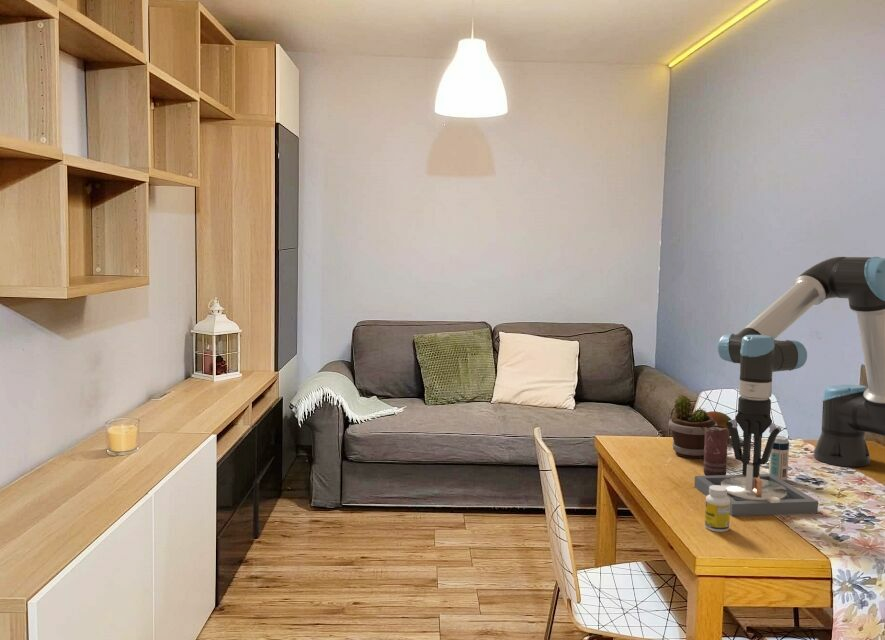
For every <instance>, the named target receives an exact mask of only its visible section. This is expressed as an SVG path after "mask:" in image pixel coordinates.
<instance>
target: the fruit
mask: <svg viewBox="0 0 885 640" xmlns="http://www.w3.org/2000/svg"><path fill="white" fill-rule="evenodd" d="M705 412H706V413H707V415H709V416H711V417H713V419H714V421H715V422H716V423H717V425H718V426H721V427H725V428H727V429H728V427H727V425H726V423H727V422H728V421H730V420H733V419H732V418H731V417H730V416H728V415H727V414H726V413H724V412H721V411H716V410H715V411H711V410H710V411H705ZM728 430H729V429H728ZM729 438H731V434H730V431H729Z"/></svg>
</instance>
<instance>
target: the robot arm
mask: <svg viewBox="0 0 885 640" xmlns="http://www.w3.org/2000/svg"><path fill="white" fill-rule="evenodd" d="M792 284H793V285H792V286H791V287H790V288H789V289H788V290H787V291H785V292H784V293H783V295H781V296H779V298H778V299H776V300H775V301H774V302H773V303H771V304H770V305H769V306H768V307H767V308H766V309H764V310H763V311H762V312H761V313H760V314H759V315H758V316H757V317H755V318H754V319H753V320H752V321H751V322H749V323H748V324H747V325H746V326H745V327H744V328H743V329H741V330H740V331H739V332H738V333H736V334H735V333H727V334H726V333H725V334H724V335H722V336H721V337H720V338H719V339H718V340H719V341H718V343H717V353H718V356H719V357H720V359H722V360H723V361H726V362H730V363H733V364H739V369H740V370H739V382H738V395H740V396H739V397H738V401H737V414H736V415H735V417H734V418H733V419H732V420H730V421H728V422H727V423H726V425H727V427H728V429H729V431H730V434H731V436H730V438H731V444H732V448H733V454H734V459H735V460H736V461H739V462H741V463H742V471H741V473H742V474H741V475H744V476H746V490H749V491H752V490H753V489H754V488H755V478H757V477H758V476H759V474H760V471H761V469H760V467H761V465H766V464H767V463H768V462H769V460H770V454H771V451H772V448H773V445H774V442H775V439H776V436H779V434H780V432H781V431H782V427H780V426H776V425H775V424H774V423H773V420H772V418H771V407H772V400H771V399H770V398H771V397H772V391H773V390H772V388H773V372H776V373H777V372H784V371H786V372H787V371H789V372H790V371H794V370H797V369H801V367H803V366H805V364H806V362H807V358H808V352H807V349H806V347H805V345H804V344H803V343H801V342H800V341H797V340H793V339H792V340H790V339H785V340H778V339H777V338H778V337H779V336H780V335H781V334H783V332H785V331H786V330H787V329H788V328H789V327H791V326H792V325H793V324H794V323H795V322H796V321H798V319H799V318H800V317H802V316H803V315H804V314H805V313H806V312H807V311H808V310H809V309H811V308H812V307H813V306H815V305H820V304H822V303H824V301H825V300H828V299H836V298H838V299H847V300H848V305H849V309H850V311H853V312H854V313H856V315H857V317H856V318H857V324H858V328H859V329H858V330H859V336H860V343H861V350H862V354H863V355H862V356H863V361H864V367H865V368H864V369H865V373H866V374H865V375H866V380H867V386H868V387H867V386H866V385H861V384H837V385H830V386H827V387H826V388H824V390H823V397H822V413H821V415H822V417H821V418H822V419H821V433H820V436H819V438H818V440H817V443H816V445H815V447H814V449H813V451H814V452H813V457H814V459H815V460H817V461H819V462H821V463H824V464H829V465H833V466H839V467H850V468H851V467H853V468H855V467H856V468H859V467H866V466H869V465H870V464H871V463H870V462H871V455H870V452H869V448H868V444H867V442H866V437H865V435H866V434H865V433H870V434H874V435H878V436H879V435H880V436H883V437H885V257H879V256H872V257H866V256H865V257H861V256H860V257H859V256H835V257H831V258H828V259H826V260H825V259H824V260H823V261H820V262H818V263H817V264H814V265H812V266H811V267H810V268H808V269H806V270H805V271H804V272H802V273H801V274H799V276H798V277H796V278H795V280H794V281H793V283H792ZM738 426H739V427H740V429H741V431H742V433H743V434H742V437H743V441H742V443H743V444H742V445H741V440H740V435H739V431H738ZM767 430H768V431H769V432H768V433H769V436H768V438H767V441H766V445H765V447H764V450H763V453H762V444H763V442H762V441H763V439H762V438H763V434H764V433H765V432H766V431H767ZM752 435H753V453H752V454H753V456H752V462H751V447H752V446H751V445H752Z"/></svg>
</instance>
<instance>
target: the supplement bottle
mask: <svg viewBox="0 0 885 640" xmlns="http://www.w3.org/2000/svg"><path fill="white" fill-rule="evenodd" d="M709 494H710V495H708V496H706V497H705V507H704V508H705V511H704V512H705V514H704V526H705V528H706V529H707V530H709V531H712V532H716V533H717V532H718V533H723V532H724V533H725V532H727V531H729V530H730V518H731V517H730V516H731V515H730V499H729V498H728V497H727V496H726V495H727V488H726V487H724V486H720V485H712V486H710V487H709Z"/></svg>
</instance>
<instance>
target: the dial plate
mask: <svg viewBox="0 0 885 640" xmlns="http://www.w3.org/2000/svg"><path fill="white" fill-rule="evenodd" d="M734 477H746V476H744V475H743V474H726V475H711V476H706V475H695V476H694V488H696V489H697V490H698V491H700V493H702V494H704V496H706V497H707V496H708V495H710V494H709V487H710V486H712V485H720V486H721V482H722V481H723V480H725V479H728V478H734ZM759 477H760V479H764V480H768V481H772V482H775V483H778V484H780V485H782V486H784V487H785V488H786V489H787V500H780V499H779V498H777V497H767V500H755V501H735V500H734V499H733V498H731V497H730V496H729V495H726V496H727V497H728V498H729V499H730V516H731V517H740V516H741V517H742V516H743V517H744V516H745V517H747V516H772V515H801V514H805V515H807V514H818V511H819V501H818V499H815V498H813V497H812V496H810V495H808V494H807V493H805V492H803V491H802V490H800V489H799V488H796V487H795V486H794V485H791V484H790V483H788V482H787V481H786V480H785V481H783V480H782V479H780V478H778V477H777V476H775V475H773V474H769V473H759Z"/></svg>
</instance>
